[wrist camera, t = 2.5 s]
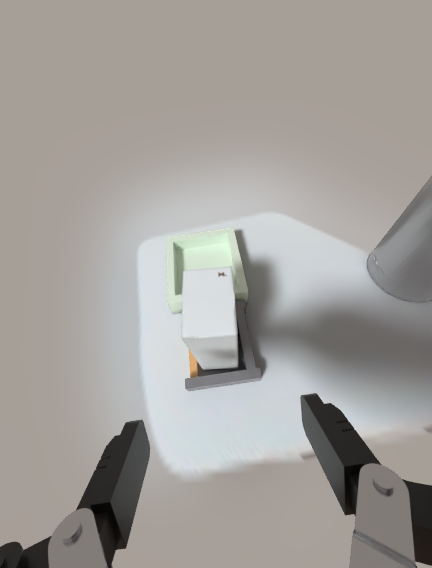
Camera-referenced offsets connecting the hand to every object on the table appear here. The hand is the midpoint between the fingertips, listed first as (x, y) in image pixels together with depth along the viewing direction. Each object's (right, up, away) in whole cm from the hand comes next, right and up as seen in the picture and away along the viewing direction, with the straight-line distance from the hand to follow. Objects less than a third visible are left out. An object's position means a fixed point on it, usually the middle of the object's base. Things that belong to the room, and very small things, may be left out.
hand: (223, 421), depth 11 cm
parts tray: (-2, +8, +22) cm, 23 cm away
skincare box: (0, -1, +16) cm, 16 cm away
